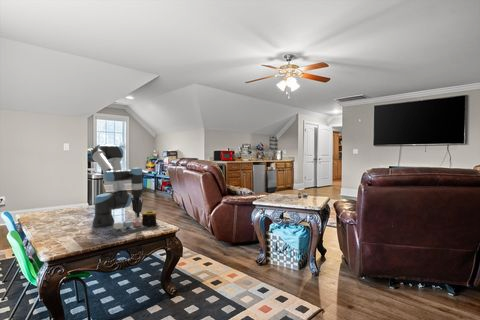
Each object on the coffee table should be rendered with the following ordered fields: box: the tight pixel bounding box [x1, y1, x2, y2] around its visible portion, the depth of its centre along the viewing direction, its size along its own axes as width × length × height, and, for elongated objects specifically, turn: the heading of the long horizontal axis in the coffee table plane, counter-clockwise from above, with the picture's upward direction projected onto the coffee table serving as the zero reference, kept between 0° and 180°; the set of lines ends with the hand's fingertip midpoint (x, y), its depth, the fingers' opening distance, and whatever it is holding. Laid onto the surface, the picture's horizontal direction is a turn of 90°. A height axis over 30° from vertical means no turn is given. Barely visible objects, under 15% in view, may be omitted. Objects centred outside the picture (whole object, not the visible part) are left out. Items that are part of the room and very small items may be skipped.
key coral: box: [132, 220, 142, 227], centre depth 199 cm, size 5×5×5 cm
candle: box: [141, 210, 157, 228], centre depth 209 cm, size 10×10×10 cm
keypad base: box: [108, 225, 148, 237], centre depth 194 cm, size 12×22×2 cm, turn 140°
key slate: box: [122, 220, 134, 229], centre depth 194 cm, size 5×5×5 cm
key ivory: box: [113, 222, 124, 231], centre depth 188 cm, size 5×5×5 cm
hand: (137, 221), depth 199 cm, fingers closed
